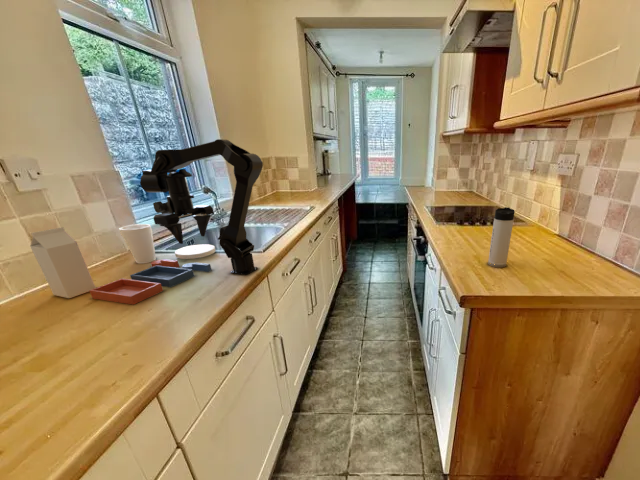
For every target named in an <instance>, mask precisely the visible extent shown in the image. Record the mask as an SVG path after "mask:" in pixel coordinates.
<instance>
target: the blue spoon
mask: <svg viewBox="0 0 640 480" xmlns="http://www.w3.org/2000/svg"><path fill="white" fill-rule="evenodd" d="M181 268H184V269H193V271H198V272H205V273H206V272H207V273H209V272H211V271H212V265H211V263H205V262H188V263H185V264H182V266H181Z"/></svg>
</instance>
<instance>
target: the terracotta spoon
mask: <svg viewBox="0 0 640 480" xmlns="http://www.w3.org/2000/svg"><path fill="white" fill-rule="evenodd" d="M150 264H151V267H153V266H156V265H157V266H166V267H175V268H181V267H180V264H179V260H177V259H176V260H175V259H166V258H163V259H156V260H154V261H152V262H150Z"/></svg>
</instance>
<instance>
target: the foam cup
mask: <svg viewBox="0 0 640 480" xmlns="http://www.w3.org/2000/svg"><path fill="white" fill-rule="evenodd" d="M118 230H119V233H120V236H121V237H123V240H124V242H125V244H126V246H127V247H128V250H129V251H130V253H131V255H132V257H133V259H134V261H135V263H136V264H148V263H151V262H153V261H156V260H157V255H156V249H155V242H154V238H153V237H154V236H153V228H152V226H151V224H149V223H137V224H129V225H124V226H121V227H119V228H118Z"/></svg>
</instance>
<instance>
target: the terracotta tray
mask: <svg viewBox="0 0 640 480" xmlns="http://www.w3.org/2000/svg"><path fill="white" fill-rule="evenodd" d="M163 291H164V288H163V286H161V283H154V282H146V281H138V280H132V279H131V278H130V279H129V278H123V277H122V278H118V279H116V280H114V281H110V282H108V283H106V284H103V285H100V286H97V287H96V288H95V289H92V290H89V293H90V296H91V298H92V299H95V300H100V301H109V302H115V303H121V304H126V305H136V304H138V303H140V302H142V301H145V300H146V299H149V298H151V297H153V296H155V295H158V294H159V293H162V292H163Z"/></svg>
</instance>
